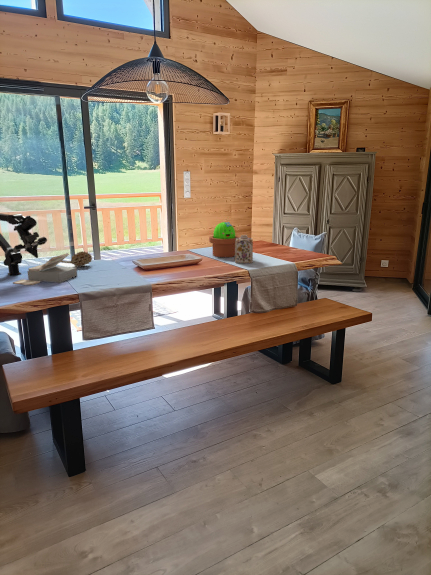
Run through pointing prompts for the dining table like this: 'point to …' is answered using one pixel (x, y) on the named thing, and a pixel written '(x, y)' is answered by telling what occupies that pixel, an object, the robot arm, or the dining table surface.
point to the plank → (26, 282)
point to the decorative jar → (243, 249)
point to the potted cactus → (223, 240)
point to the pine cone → (80, 259)
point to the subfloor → (52, 273)
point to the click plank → (53, 261)
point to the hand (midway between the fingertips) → (37, 257)
